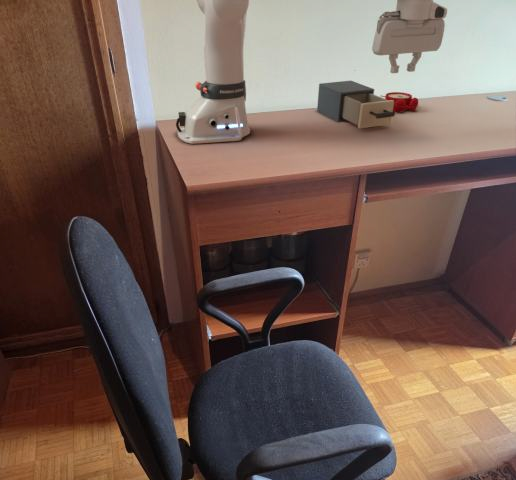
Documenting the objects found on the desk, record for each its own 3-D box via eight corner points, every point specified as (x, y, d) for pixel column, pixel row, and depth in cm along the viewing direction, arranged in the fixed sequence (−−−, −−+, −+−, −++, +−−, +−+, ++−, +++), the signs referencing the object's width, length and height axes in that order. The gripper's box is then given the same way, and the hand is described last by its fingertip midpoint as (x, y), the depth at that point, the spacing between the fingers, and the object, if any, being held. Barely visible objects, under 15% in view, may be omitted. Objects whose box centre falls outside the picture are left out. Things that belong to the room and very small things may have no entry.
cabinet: (370, 117, 152) (374, 89, 147) (337, 121, 149) (340, 92, 143) (347, 107, 162) (350, 80, 157) (317, 111, 159) (319, 83, 153)
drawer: (399, 128, 140) (404, 104, 135) (368, 132, 136) (371, 108, 132) (366, 113, 152) (370, 91, 148) (337, 117, 149) (340, 94, 145)
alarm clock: (400, 91, 165) (427, 89, 153) (399, 110, 168) (425, 110, 156) (376, 93, 162) (401, 92, 150) (375, 113, 165) (400, 113, 153)
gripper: (386, 13, 111) (377, 77, 120) (452, 9, 116) (439, 71, 125) (372, 10, 115) (364, 73, 124) (436, 7, 121) (424, 67, 130)
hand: (402, 72), depth 125 cm, fingers open, 4 cm apart
